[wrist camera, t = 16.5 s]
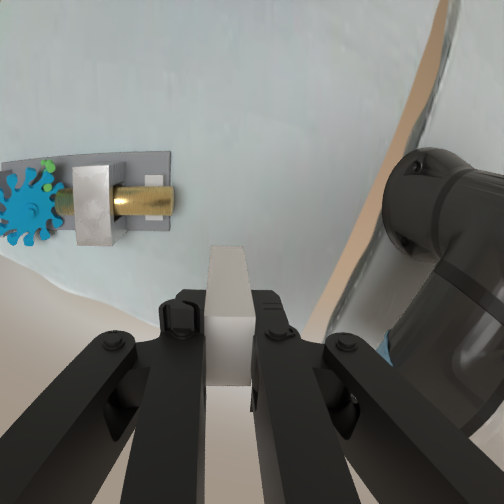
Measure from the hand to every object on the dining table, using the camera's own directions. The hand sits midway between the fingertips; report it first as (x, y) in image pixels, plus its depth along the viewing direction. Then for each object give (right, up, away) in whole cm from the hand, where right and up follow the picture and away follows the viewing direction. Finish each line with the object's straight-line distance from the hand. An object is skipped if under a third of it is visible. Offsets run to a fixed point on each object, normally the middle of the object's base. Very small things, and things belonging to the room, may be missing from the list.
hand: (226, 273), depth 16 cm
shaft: (-14, +7, +17) cm, 23 cm away
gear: (-24, +8, +18) cm, 31 cm away
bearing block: (-15, +8, +19) cm, 25 cm away
